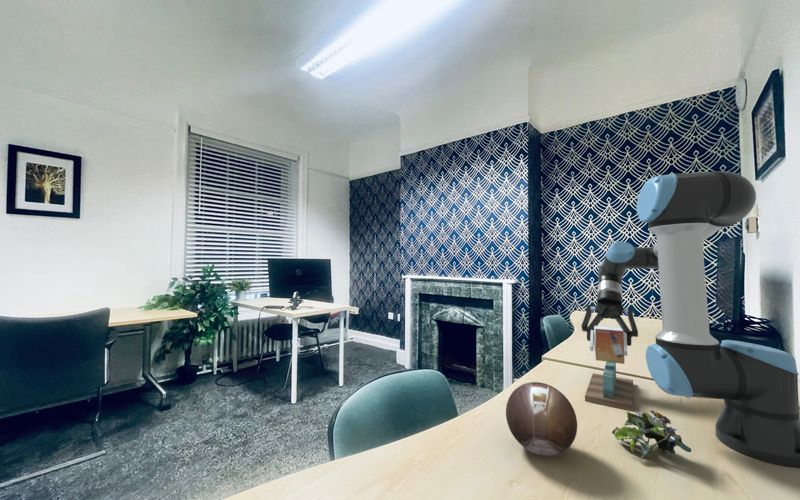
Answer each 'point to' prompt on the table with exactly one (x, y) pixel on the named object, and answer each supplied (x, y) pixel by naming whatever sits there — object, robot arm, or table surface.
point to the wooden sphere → (541, 419)
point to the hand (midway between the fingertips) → (608, 351)
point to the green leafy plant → (650, 432)
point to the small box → (609, 344)
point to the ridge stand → (610, 389)
